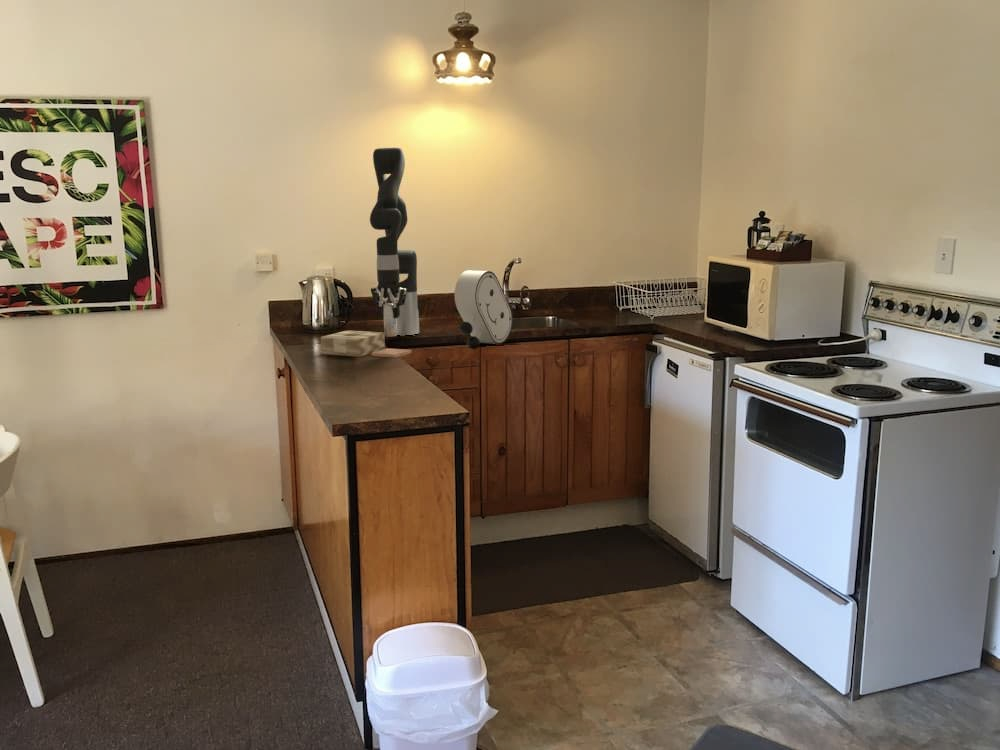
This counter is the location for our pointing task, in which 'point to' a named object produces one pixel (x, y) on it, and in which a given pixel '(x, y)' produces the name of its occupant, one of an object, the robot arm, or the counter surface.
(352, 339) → the bore block
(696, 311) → the counter surface
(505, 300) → the robot
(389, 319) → the light grey cylinder
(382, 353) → the coaster
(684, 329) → the counter surface
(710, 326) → the counter surface
